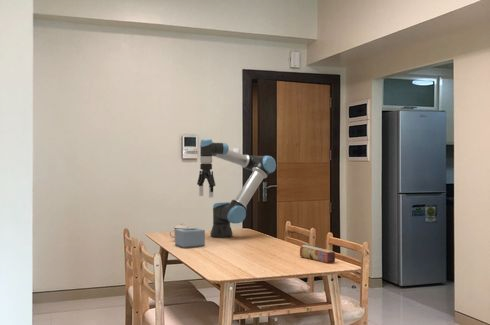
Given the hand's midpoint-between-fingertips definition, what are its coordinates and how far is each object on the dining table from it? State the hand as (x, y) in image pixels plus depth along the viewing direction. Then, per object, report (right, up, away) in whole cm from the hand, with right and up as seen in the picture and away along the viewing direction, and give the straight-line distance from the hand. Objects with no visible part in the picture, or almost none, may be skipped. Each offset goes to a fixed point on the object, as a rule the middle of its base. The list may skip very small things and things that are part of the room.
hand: (205, 196), depth 327 cm
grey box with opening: (-8, -29, -17) cm, 34 cm away
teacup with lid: (-17, -29, +1) cm, 34 cm away
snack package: (+63, -30, -57) cm, 90 cm away
